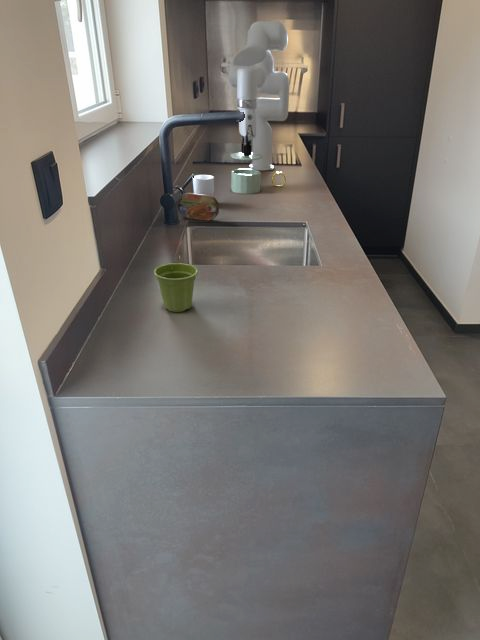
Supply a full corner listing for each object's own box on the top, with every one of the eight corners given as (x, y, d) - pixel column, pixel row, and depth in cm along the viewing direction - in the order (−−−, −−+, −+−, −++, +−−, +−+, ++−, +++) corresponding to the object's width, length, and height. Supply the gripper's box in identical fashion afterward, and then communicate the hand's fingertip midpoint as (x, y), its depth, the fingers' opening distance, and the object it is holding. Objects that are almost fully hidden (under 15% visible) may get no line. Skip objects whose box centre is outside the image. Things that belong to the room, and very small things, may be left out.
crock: (228, 187, 212) (228, 169, 208) (255, 186, 215) (256, 168, 211) (234, 194, 202) (235, 175, 198) (263, 193, 205) (263, 174, 201)
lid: (227, 155, 206) (227, 140, 203) (257, 154, 209) (257, 140, 206) (234, 161, 195) (234, 146, 192) (266, 161, 198) (266, 145, 195)
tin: (177, 216, 172) (175, 192, 168) (181, 214, 175) (180, 190, 171) (216, 222, 168) (216, 197, 164) (220, 220, 171) (220, 195, 166)
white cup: (218, 203, 189) (217, 176, 184) (207, 208, 183) (207, 180, 178) (200, 200, 192) (199, 173, 187) (189, 205, 186) (188, 177, 181)
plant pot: (159, 297, 116) (156, 262, 112) (199, 297, 117) (198, 262, 113) (155, 316, 108) (151, 279, 104) (198, 315, 109) (197, 279, 105)
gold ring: (271, 187, 215) (272, 172, 212) (271, 185, 217) (271, 171, 214) (285, 187, 215) (286, 172, 212) (284, 185, 218) (285, 171, 215)
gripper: (261, 106, 186) (260, 158, 196) (251, 102, 199) (250, 150, 209) (242, 106, 184) (242, 159, 194) (232, 102, 197) (232, 151, 207)
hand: (246, 154), depth 201 cm, fingers closed on lid, 2 cm apart
